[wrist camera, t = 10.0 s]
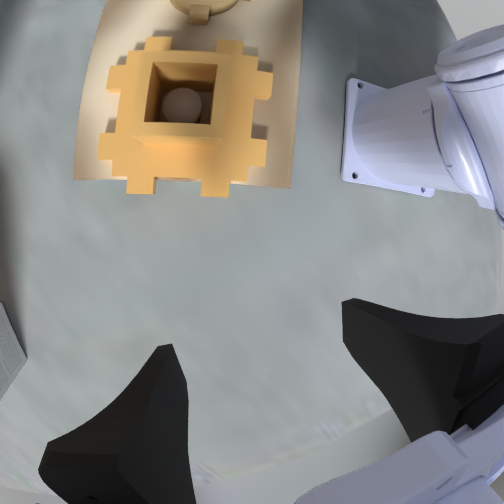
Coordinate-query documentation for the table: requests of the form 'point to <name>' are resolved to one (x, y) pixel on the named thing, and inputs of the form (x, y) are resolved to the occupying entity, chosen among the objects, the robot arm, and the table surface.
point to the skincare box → (9, 353)
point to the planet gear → (185, 134)
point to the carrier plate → (237, 25)
